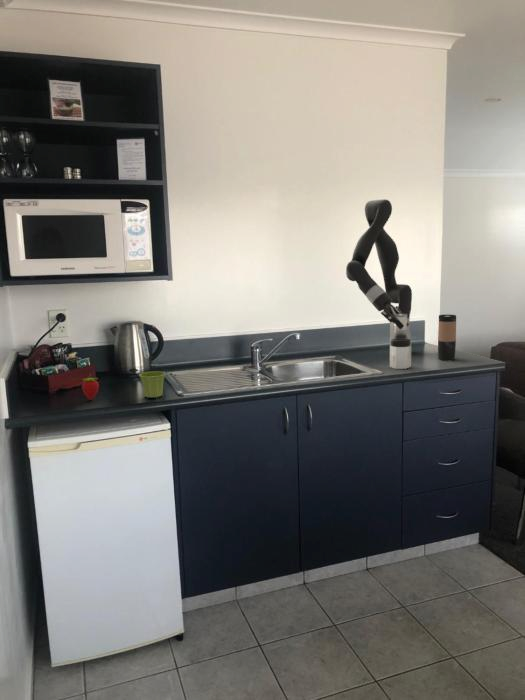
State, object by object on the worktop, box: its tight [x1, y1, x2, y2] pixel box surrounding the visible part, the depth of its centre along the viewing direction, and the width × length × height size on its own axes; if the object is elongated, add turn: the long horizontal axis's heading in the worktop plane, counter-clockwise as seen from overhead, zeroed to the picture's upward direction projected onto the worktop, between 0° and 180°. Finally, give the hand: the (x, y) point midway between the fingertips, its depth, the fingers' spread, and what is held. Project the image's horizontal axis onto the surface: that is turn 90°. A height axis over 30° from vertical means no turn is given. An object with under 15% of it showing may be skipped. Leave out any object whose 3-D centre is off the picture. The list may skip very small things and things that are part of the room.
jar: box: [389, 338, 412, 370], centre depth 241 cm, size 9×8×12 cm
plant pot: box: [138, 370, 167, 398], centre depth 203 cm, size 9×9×9 cm
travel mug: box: [437, 314, 457, 361], centre depth 254 cm, size 8×8×20 cm
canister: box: [394, 314, 407, 339], centre depth 239 cm, size 5×5×10 cm
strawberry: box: [81, 373, 100, 400], centre depth 201 cm, size 6×8×10 cm
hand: (404, 326), depth 238 cm, fingers closed on canister, 5 cm apart
